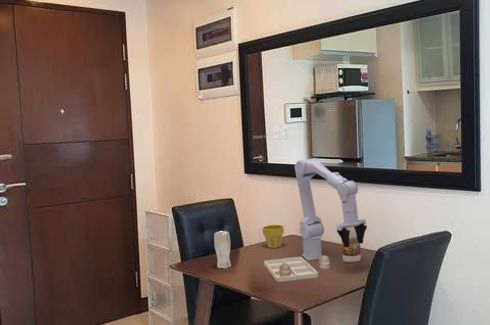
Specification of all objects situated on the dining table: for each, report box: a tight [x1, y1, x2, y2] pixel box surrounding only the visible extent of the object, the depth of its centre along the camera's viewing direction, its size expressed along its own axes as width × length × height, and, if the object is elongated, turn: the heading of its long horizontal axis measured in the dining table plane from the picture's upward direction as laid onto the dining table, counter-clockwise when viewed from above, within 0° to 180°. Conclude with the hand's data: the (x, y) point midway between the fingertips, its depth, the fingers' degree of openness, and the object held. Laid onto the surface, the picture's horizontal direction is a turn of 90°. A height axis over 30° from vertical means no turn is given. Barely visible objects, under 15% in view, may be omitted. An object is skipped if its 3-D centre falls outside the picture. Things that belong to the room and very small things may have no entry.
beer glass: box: [213, 230, 232, 269], centre depth 225 cm, size 7×7×15 cm
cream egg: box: [318, 254, 331, 270], centre depth 213 cm, size 4×4×6 cm
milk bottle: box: [341, 227, 362, 263], centre depth 222 cm, size 8×8×20 cm
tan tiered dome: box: [279, 263, 291, 277], centre depth 203 cm, size 4×4×6 cm
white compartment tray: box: [263, 256, 320, 283], centre depth 212 cm, size 25×17×2 cm
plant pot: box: [262, 224, 285, 249], centre depth 254 cm, size 10×10×10 cm
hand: (353, 245), depth 208 cm, fingers open, 7 cm apart
